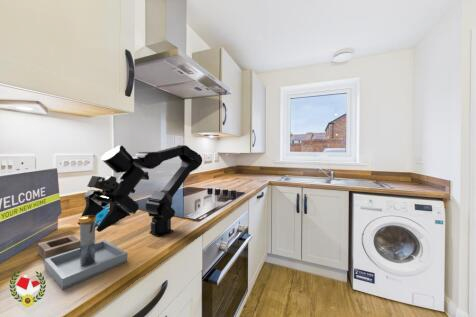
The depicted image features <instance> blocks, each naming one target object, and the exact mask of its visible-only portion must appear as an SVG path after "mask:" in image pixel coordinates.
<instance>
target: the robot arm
mask: <svg viewBox="0 0 476 317" xmlns="http://www.w3.org/2000/svg"><path fill="white" fill-rule="evenodd" d="M177 157H179V159H180V160H181V163H180V165H181V166H180V167H179V168H178V169H177V171H176V172H175V173H174V174H173V175H172V177H171V178H170V180H169V181H168V183H166V184H165V186H164V187H163V189H162V190H161V191H153V192H152V193H151V194H150V196H149V197H148V198H147V199H146V200H147V201H146V202H145V210H146V212H147V214H148V216H149V217H151V222H150V230H149V234H151V235H154V236H156V237H159V238H160V237H162V236H165V235H168V234H170V233H172V232H174V229H172V226H171V225H172V218H174V217H175V214H176V210H175V209H174V208H173V207H172V205H173V197H174V196H175V194H176V193H177V191H178V190H179V189H180V188H181V186H182V185H183V183H184V182H185V180H186V179H187V178H188V176H189V175H190V174H191V172H194V171H195V170H197V169H198V168H199V167H201V165H202V163H203V157H202V156H201V154H200V153H198V152H197V151H195V150H193V149H192V148H190V146H188V145H185V144H184V145H183V144H182V145H179V144H178V145H176V146H173V147H169V148H165V149H161V150H158V151H138V152H136V153H135V154H134V155H131V153H129V152H128V151H127V149H126V148H125V147H124V145H117V146H116V147H113V148H112V149H110V150H108V151H106V152H105V153H104V154H102V156H101V157H100V158H101V159H100V160H101V161H102V162H104V164H106V165H107V166H108V167H109V169H111V170H112V171H114V172H115V173H116V174H119V173H121V174H120V176H119V177H116V176H112V175H106V177H104V176H103V177H102V176H98V175H97V176H96V175H92V176H91V177H90V180H89V182H88V184H87V185H86V187H89V188H95V189H90V190H89V189H88V190H87V191H86V192H85V193H84V194H83V198H84V200H85V207H84V209H83V212H82V214H81V216H80V217H82V216H87V215H97V214H98V213H99V212H101V211H102V210H103V209H104V207H105V206H107V205H109V207H110V209H109V210H108V211H109V212H108V213H107V215H106V216H105V217H104V219H103V220H102V222H101V223H100V222H99V223H100V224H99V226H98V225H97V228H95V231H96V232H99V233H101V232H103V231H104V230H106V229H108V228H109V227H111V226H113V225H114V224H116V223H117V222H119V221H121V220H123V219H124V218H127V217H130V216H131V214H132V215H135V214H136V213H137V212H138V210H139V203H138V202H137V201H135V200H134V199H133V198H132V197H131V196H129V195H130V194H135V193H136V187H137V185H138V184H139V183H140V182H141V180H147V181H149V180H150V175H149V172H148V171H145V170H144V169H146V170H147V169H149V170H152V169H155V168H157V167H159V166H160V165H161V164H162V163H163V162H164V161H168V160H171V159H175V158H177ZM97 189H98V190H97ZM77 225H79V226H80V223H79V221H78V222H77Z"/></svg>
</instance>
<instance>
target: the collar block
mask: <svg viewBox="0 0 476 317" xmlns="http://www.w3.org/2000/svg"><path fill="white" fill-rule="evenodd" d="M78 248H80V238H78V237H76V236H75V235H73V234H69V235H65V236H61V237H57V238H54V239H50V240H46V241H43V242H38V243H37V254H38V256H39V257H40V258H41V259H42V260H43V261H44V262H45V259H47V258H50V257H53V256H56V255H59V254H62V253H65V252H69V251H72V250H75V249H78Z"/></svg>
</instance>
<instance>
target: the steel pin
mask: <svg viewBox="0 0 476 317" xmlns="http://www.w3.org/2000/svg"><path fill="white" fill-rule="evenodd" d="M81 216H82V215H81ZM81 216H80V217H78V222H79V223H80V225H79V240H80V265H81V266H87V265H90V264H93V263H94V262H95V243H96V226H95V222H96V215H87V216H82V217H81Z"/></svg>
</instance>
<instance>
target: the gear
mask: <svg viewBox="0 0 476 317" xmlns="http://www.w3.org/2000/svg"><path fill="white" fill-rule="evenodd" d="M103 208H104V209H103V210H102V211H101V212H99V213H98V214H97V215H96V221H95V227H96V226H97V227H98V226H99V224H100V223H101V222H102V220H103V219H104V217H105V216H106V215H107V213H108V212H109V209H110V204H108V205H107V206H105V207H103Z"/></svg>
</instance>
